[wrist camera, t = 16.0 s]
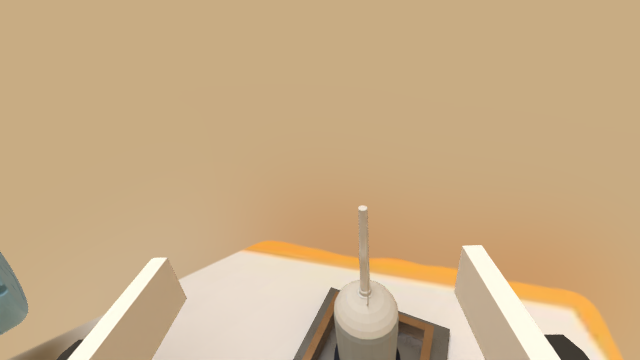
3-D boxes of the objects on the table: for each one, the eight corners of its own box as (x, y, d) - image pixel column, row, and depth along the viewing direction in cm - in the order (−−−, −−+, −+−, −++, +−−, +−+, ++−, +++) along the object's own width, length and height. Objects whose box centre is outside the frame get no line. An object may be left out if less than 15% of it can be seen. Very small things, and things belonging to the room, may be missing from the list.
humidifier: (390, 331, 38) (397, 178, 25) (409, 402, 31) (434, 239, 18) (332, 337, 38) (310, 188, 25) (338, 410, 31) (313, 253, 18)
